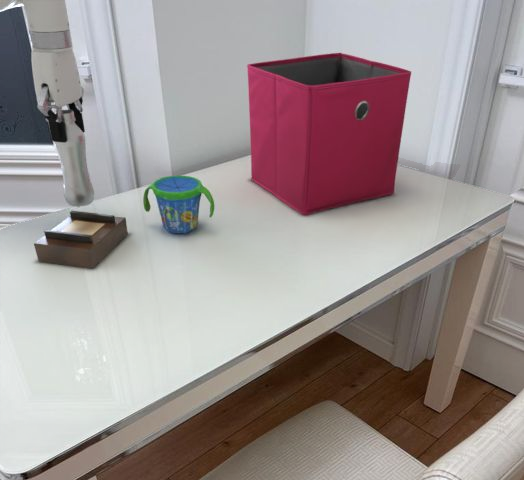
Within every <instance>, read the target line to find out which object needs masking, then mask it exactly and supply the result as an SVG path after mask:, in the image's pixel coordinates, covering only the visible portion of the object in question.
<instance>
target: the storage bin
mask: <svg viewBox="0 0 524 480" xmlns="http://www.w3.org/2000/svg"><path fill="white" fill-rule="evenodd" d="M246 68H247V87H248V109H249V110H248V111H249V134H250V135H249V136H250V139H249V140H250V169H251V170H250V172H251V175H250V176H251V177H250V180H251V181H252V182H254V183H255V184H256V185H259V186H260V187H261V188H262V189H264V190H266V191H267V192H269V193H271V194H272V195H273V196H275V197H276V198H277V199H279V200H280V201H281V202H283V203H284V204H286V205H287V206H288V207H290V208H291V209H293V210H294V211H296V212H298V213H299V214H300V215H302V216H309V215H311V214H315V213H318V212H321V211H326V210H330V209H334V208H338V207H342V206H347V205H351V204H354V203H359V202H363V201H368V200H372V199H377V198H381V197H386V196H390V195H394V194H395V185H396V178H397V177H396V176H397V170H398V163H399V155H400V149H401V143H402V136H403V130H404V123H405V117H406V116H405V115H406V110H407V109H406V108H407V102H408V95H409V89H410V83H411V78H412V77H411V76H412V71H411V70H408V69H405V68H402V67H399V66H394V65H391V64H387V63H383V62H379V61H374V60H369V59H366V58H364V57H363V58H362V57H359V56H355V55H351V54H348V53H343V52H331V53H324V54H323V53H322V54H316V55H307V56H298V57H293V58H286V59H277V60H276V59H275V60H268V61H262V62H253V63H247V65H246Z"/></svg>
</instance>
